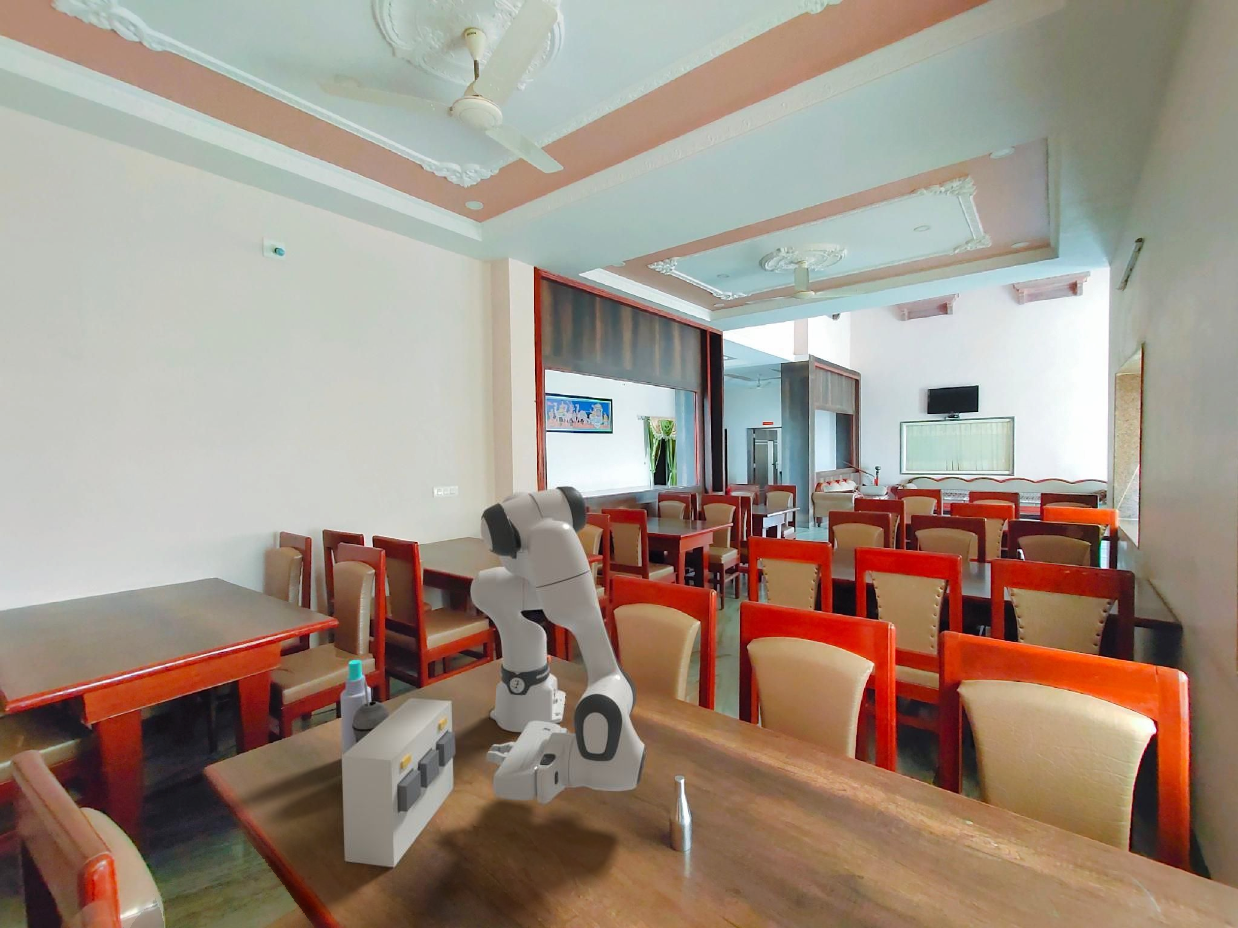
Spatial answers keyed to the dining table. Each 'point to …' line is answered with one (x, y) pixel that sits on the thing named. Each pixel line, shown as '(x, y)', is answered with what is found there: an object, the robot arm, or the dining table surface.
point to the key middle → (429, 767)
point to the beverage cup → (368, 717)
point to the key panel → (392, 782)
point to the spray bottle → (352, 702)
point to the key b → (446, 748)
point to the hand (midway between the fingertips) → (489, 752)
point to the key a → (409, 790)
